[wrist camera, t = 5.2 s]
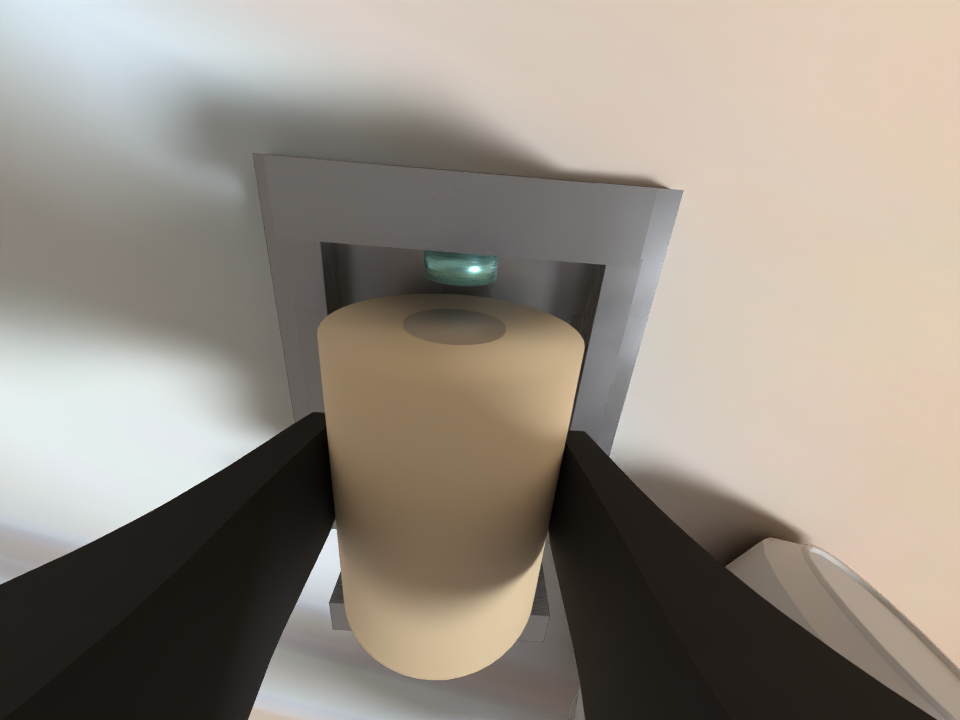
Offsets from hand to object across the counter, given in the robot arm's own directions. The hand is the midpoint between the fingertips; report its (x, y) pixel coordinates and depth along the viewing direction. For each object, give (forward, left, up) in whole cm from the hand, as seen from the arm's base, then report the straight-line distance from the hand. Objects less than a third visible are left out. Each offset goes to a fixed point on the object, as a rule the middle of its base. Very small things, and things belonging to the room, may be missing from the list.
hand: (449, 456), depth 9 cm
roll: (0, +1, -2) cm, 2 cm away
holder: (0, 0, -3) cm, 3 cm away
